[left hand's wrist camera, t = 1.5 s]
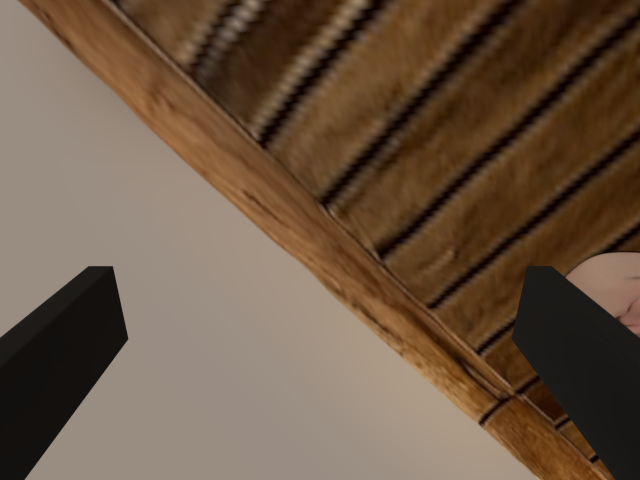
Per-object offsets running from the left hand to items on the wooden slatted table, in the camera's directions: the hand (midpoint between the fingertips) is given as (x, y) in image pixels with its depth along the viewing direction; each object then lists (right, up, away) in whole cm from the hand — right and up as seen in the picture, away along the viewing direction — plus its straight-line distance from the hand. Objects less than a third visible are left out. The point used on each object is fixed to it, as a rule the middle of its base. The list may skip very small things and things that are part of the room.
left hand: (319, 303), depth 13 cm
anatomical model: (+32, -4, +32) cm, 45 cm away
